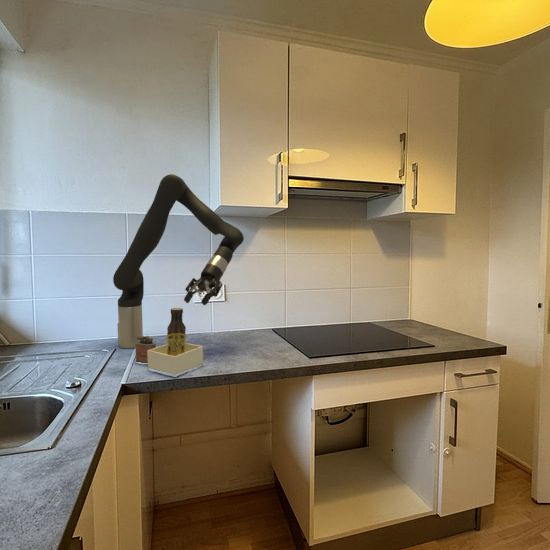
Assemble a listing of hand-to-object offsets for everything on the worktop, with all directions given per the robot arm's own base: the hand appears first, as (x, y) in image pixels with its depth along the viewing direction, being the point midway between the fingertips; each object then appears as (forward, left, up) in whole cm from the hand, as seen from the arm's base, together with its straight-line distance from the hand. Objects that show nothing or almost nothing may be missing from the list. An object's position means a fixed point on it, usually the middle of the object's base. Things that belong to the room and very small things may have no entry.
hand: (194, 302), depth 122 cm
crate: (0, -9, -22) cm, 24 cm away
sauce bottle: (0, -9, -21) cm, 23 cm away
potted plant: (-13, -11, -22) cm, 28 cm away
